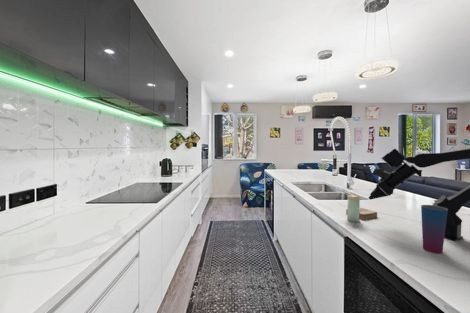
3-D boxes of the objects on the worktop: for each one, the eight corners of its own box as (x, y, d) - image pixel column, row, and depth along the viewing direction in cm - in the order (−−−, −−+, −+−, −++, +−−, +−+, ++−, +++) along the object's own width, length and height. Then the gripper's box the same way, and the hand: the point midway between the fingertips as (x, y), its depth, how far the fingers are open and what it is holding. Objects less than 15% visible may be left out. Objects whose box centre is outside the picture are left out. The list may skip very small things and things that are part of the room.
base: (377, 217, 112) (377, 212, 112) (363, 219, 108) (363, 214, 108) (359, 211, 121) (359, 207, 121) (346, 213, 117) (346, 209, 117)
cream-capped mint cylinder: (361, 221, 106) (362, 196, 106) (354, 222, 104) (354, 197, 103) (352, 217, 111) (352, 194, 110) (344, 219, 109) (345, 195, 108)
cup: (419, 244, 81) (420, 203, 80) (445, 249, 77) (446, 206, 76) (419, 250, 76) (421, 207, 75) (447, 256, 71) (449, 211, 71)
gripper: (385, 160, 107) (359, 181, 114) (384, 162, 91) (353, 186, 98) (405, 178, 102) (376, 198, 109) (407, 183, 87) (374, 206, 94)
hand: (370, 196), depth 103 cm, fingers open, 9 cm apart
